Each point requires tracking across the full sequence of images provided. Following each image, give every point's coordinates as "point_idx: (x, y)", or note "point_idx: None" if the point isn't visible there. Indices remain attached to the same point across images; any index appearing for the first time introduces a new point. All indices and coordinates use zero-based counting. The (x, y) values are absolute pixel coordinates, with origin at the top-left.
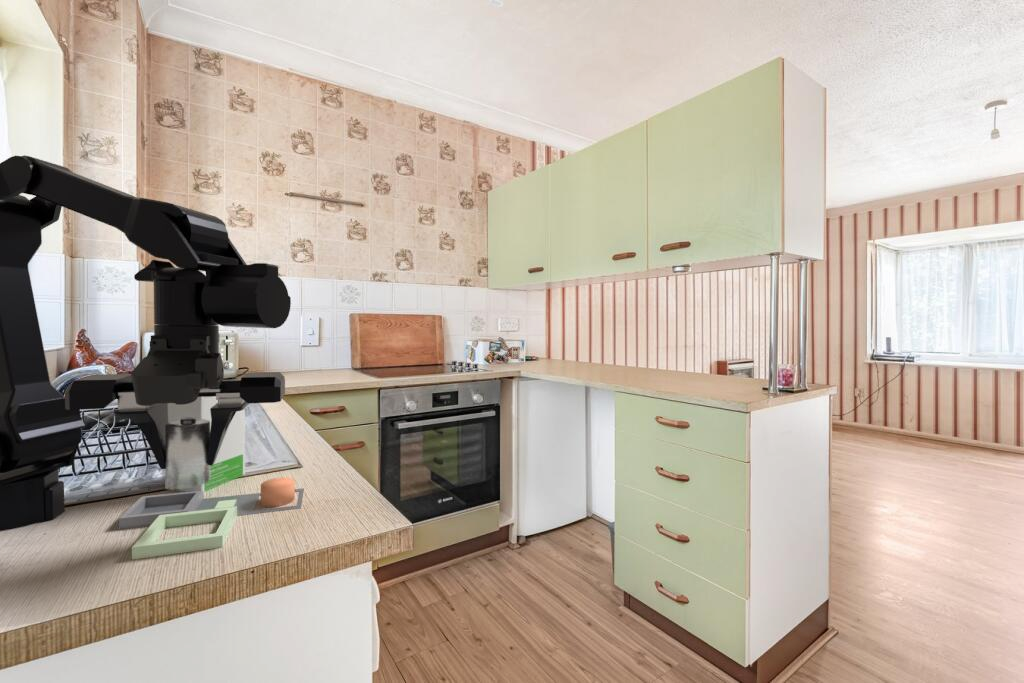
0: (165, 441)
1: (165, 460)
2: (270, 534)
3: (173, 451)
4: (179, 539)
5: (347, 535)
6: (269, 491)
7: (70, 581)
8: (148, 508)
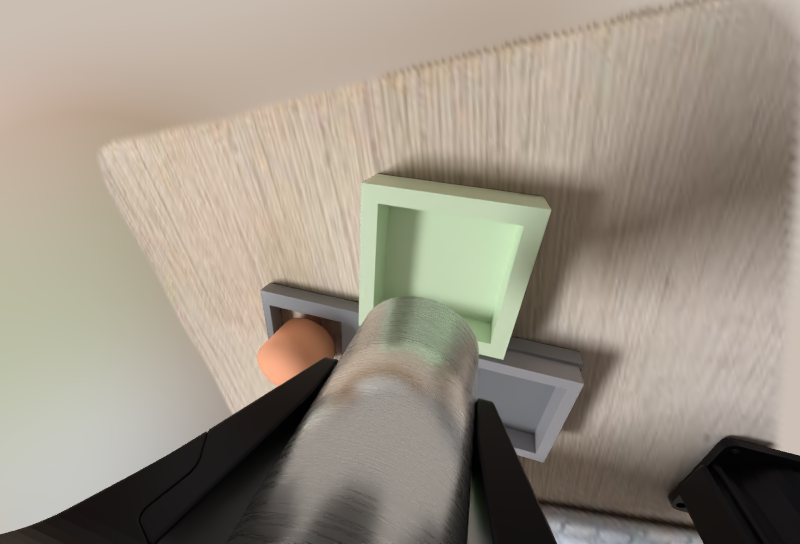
0: (472, 538)
1: (475, 428)
2: (307, 230)
3: (427, 426)
4: (450, 207)
5: (172, 157)
6: (299, 345)
7: (664, 195)
8: (528, 426)
